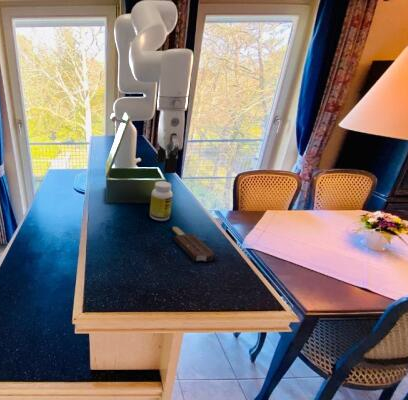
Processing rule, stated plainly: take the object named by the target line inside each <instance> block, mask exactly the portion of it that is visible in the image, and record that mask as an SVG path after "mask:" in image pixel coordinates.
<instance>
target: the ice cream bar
mask: <svg viewBox="0 0 408 400" xmlns="http://www.w3.org/2000/svg"><path fill="white" fill-rule="evenodd" d="M171 229H172V231H173V232H174V233H175V234H176V235H174V238H173V240H174V242H175V243H176V244H177V245H178V246H179V247H180V248H181V249H182V250H183V251H184V252H185V253H186V254H187V256H189V257H190V258H191V260H192V261H193V262H200V261H202V262H205V263H208V262H211V261H213V260H214V258H215V252H214V251H213V250H212V249H211V248H210V247H209V246H208V245H207V244H205V243H204V242H203V241H202V240H201V239H200V238H199V237H198V236H196V234H194V233H193V232H189V233H184V231H182V230H181V229H180V228H179V227H178V226H172V228H171Z"/></svg>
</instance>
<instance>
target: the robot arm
mask: <svg viewBox="0 0 408 400" xmlns="http://www.w3.org/2000/svg"><path fill="white" fill-rule="evenodd" d="M177 23H178V9H177V5H176V4H175V3H174V2H173V1H171V0H140V1H138V2H136V4H135V5H134V6H132V9H131V12H130V13H123V14H121V15H119V16H118V17H117V18H116V19H115V21H114V25H113V35H114V42H115V46H116V49H117V54H118V65H117V68H118V69H117V70H118V71H117V87H118V91H119V92H120V93H122V94H126V95H127V94H128V95H129V94H131V95H132V94H134V95H135V94H138V95H139V94H143V96H123V97H119V98H118V99H116V100H115V101H114V103H113V114H115V115H116V117H119V118H122V119H123V116H124V114H125V112H126V113H127V114H128V115H129V117H130V121H129V124H128V127H127V129H126V132H125V134H124V137H123V140H122V142H121V145H120V148H119V150H118V153H117V155H116V158H115V161H114V163H113V166H112V167H132V168H139V166H138V165H137V164H138V163H140V162H141V161H142V159H141V158H140V157H138V158H137V157H136V155H137V154H136V153H137V140H138V139H137V137H138V131H137V128H136V127H135V125H134V124H133V122H134V121H150V120H152V119H153V117H154V116H155V113H156V111H160V113H159V119H158V120H159V121H158V129H157V144H158V145H157V151H156V153H157V154H156V163H160V164H162V163H163V171H162V173H164V174H176V173H177V165H178V158H179V156H178V155H179V151H181V150H182V149H183V146H184V145H183V143H184V132H185V111H187V110H188V104H189V103H188V102H189V95H190V87H191V80H192V73H193V72H192V71H193V64H194V51H193V50H192V49H189V48H170V49H166V50H158V49H160V48H161V47H162V46H163V45H164V43H165V42H166V40H167V36H169V34H170V33H172V32H173V30H174V29H175V27H176V25H177ZM156 103H157V105H156ZM120 124H121V122H118V121H115V122H114V139H115V138H116V135H117V133H118V130H119V127H120Z"/></svg>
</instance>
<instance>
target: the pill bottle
mask: <svg viewBox="0 0 408 400" xmlns="http://www.w3.org/2000/svg"><path fill="white" fill-rule="evenodd" d="M171 189H172V184H171V182H167V181H166V182H164V181H159V182H156V183H155V189H154V190H153V191H152V195H151V203H150V206H149V217H150V218H151V219H153V220H155V221H160V222H164V221H165V222H166V221H167V220H169V219H170V217H171V210H172V202H173V195H174V194H173V191H172V190H171Z"/></svg>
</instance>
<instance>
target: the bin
mask: <svg viewBox="0 0 408 400" xmlns="http://www.w3.org/2000/svg"><path fill="white" fill-rule="evenodd" d="M159 181H164V182H167V180H166V178H165V175H164V174H163V172H162V171H161V169H160V168H159V167H138V168H132V167H112V169H111V171H110V174H109V177H108V178H106V177H105V203H106V204H151V195H152V191H153V190H154V189H155V183H156V182H159Z"/></svg>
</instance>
